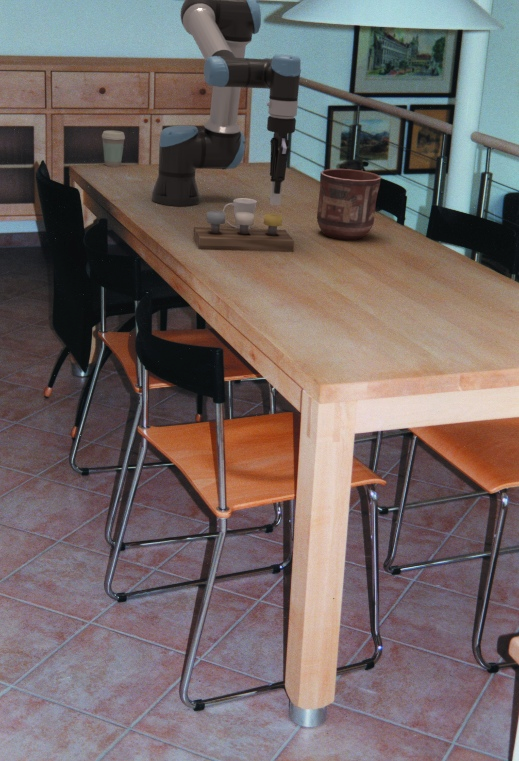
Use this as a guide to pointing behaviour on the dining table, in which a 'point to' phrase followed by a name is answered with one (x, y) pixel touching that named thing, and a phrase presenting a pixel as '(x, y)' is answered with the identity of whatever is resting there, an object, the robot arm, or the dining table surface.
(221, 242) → the panel
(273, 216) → the mustard button
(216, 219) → the slate button
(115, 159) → the coffee cup
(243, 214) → the cream button
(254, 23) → the robot arm
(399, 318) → the dining table surface
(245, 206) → the cup
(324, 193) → the pottery
